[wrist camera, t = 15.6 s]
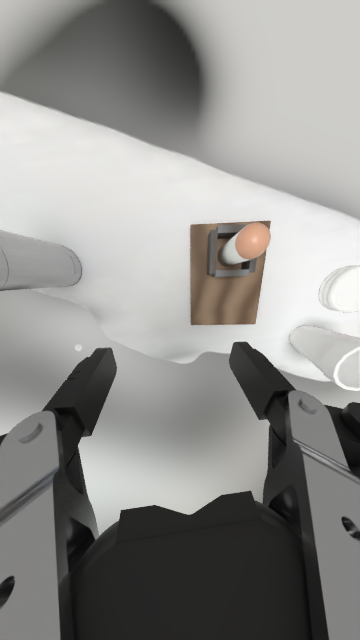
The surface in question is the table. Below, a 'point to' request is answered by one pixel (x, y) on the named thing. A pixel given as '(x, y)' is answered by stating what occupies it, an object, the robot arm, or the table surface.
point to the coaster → (342, 290)
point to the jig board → (222, 278)
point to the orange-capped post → (245, 245)
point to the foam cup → (330, 354)
